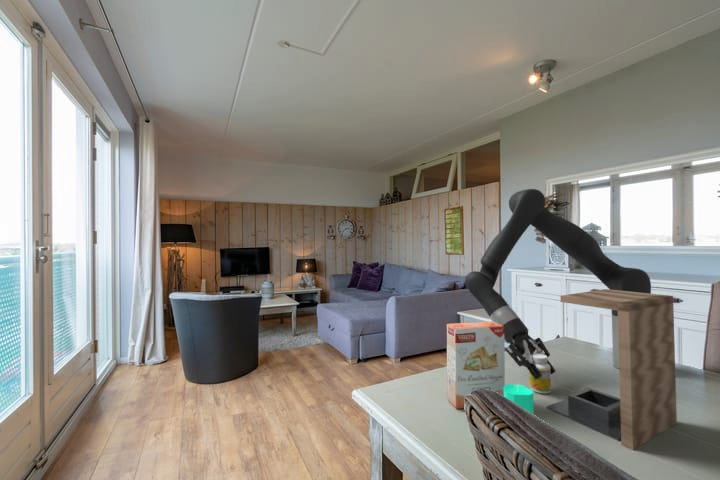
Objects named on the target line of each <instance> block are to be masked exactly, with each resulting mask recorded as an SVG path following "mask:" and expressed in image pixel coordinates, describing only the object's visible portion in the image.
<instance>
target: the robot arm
mask: <svg viewBox="0 0 720 480" xmlns="http://www.w3.org/2000/svg"><path fill="white" fill-rule="evenodd" d="M546 202H547V201H546V197H545V195H544V193H543V192H542V191H541V190H538V189H536V188H529V189H523V190H518V191H517V192H514V193H513V194H512V195H510V198H509V200H508V206H509V210H510V211H511V213H512V214H511V217H510V218H509V220H508V222H507V223H506V224H505V225H504V227H503V228H502V229H500V231H499V233H498V234H497V235H496V236H495V237H494V238H493V239H492V240H491V242H490V244H489V245H488V247H487V248H486V250H485V251H484V253H483V255H482V256H481V259H480V264H481V268H480V269H479V271H476V270H475V271H474V270H473V271H471V272H469V273H468V274H467V275H466V276H465V286H466V288H467V290H468V291H469V292H470V293H471V295H472V296H473V297H474V298H475V300H477V302H479V303H480V305H481V306H482V308H484V309H483V310H484V311H485V312H486V314H487V315H488V316H489V318H490V319H491V321H493V322H495V323H497V324H500V325H502V326H504V342H505V343H506V344H509V345H507V347H506V348H504V351H506V353H508V355H509V356H510V357H511V359H513V362H515V363H516V364H517V365H518V366H519V367H525V368H526V369H527V370H528V372H530V373H531V374H532V376H533V377H534V378H535V379H539V378H540V377H541V376H542V374H541V373H540V371H539V370H538V369H537V367H536V366H535V364H534V363H532V354H543V355H546V356H547V358H548V359H549V357H550V356H551V354H550V352H549V350H548V349H547V346H545V344H544V341H542V339H541V338H540V337H537V338H533V337H531V336H530V335H529V328H528V327H527V326H526V324H525V323H524V322H523V321H522V320H521V318H520V317H519V316H518V314H517V313H516V312H515V310H514V309H513V308H512V307H511V306H510V305H509V304H508V302H507V301H506V300H505V298H504V297H503V296H502V295H501V294H500V293H499V292H497V291H496V290H495V289H494V287H495V286H496V285H495V284H496V282H497V280H498V276H499V273H500V270H501V269H502V267H503V265H504V264H505V263H506V260H507V259H508V257H509V256H510V254H511V252H512V250H513V249H514V247H515V246H516V244H518V241H519V240H520V239H521V237H522V236H523V234H524V233H525V232H526V230H527V229H528V228H529V227H530V226H532V227H533V228H536V230H538V231H539V232H540V233H541V234H542V235H543V236H544V237H546V238H547V239H548V240H549V241H550V242H552V243H553V244H554V245H555V246H557V247H558V248H559V249H560V250H561V251H563V252H564V253H565V254H566V255H568V256H569V257H571V258H572V259H574V260H575V261H576V262H577V263H578V264H580V265H581V266H582V267H584V268H586V269H587V270H589V272H591V273H592V274H593V275H594V276H595V277H596V278H597V279H598V280H599V281H600V282H601V283H602V284H604V286H605V287H606V288H608V289H610V290H620V291H629V292H639V293H649V294H652V283H651V278H650V276H649V274H648V273H647V272H646V271H645V270H643V269H641V268H635V267H625V266H622V265H619V264H618V263H617V262H615V261H613V260H612V259H611V258H609V257H608V256H606V254H605V253H604V252H603V250H602V248H601V247H600V245H599V243H598V242H597V240H596V239H595V238H594V237H593V236H592V235H591V234H590V233H589V232H587V231H586V230H584V229H583V228H582V227H580V226H579V225H577V224H576V223H574V222H572V221H569V220H567V219H565V218H563V217H562V216H561V217H560V216H558V215H556V214H555V213H553V212H551V211H550V210H548V209H547V208H546V207H545V206H546ZM611 335H612V365H613V367H614V368H617V369H619V339H618V310H611ZM547 363H548V364H549V365H550V368H551V375H553V374H555V373H556V369H555V368H554V366H553V365H552V363H551V362H550V361H549V360H548V361H547ZM530 373H529V374H530Z"/></svg>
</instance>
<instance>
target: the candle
mask: <svg viewBox="0 0 720 480" xmlns="http://www.w3.org/2000/svg"><path fill="white" fill-rule="evenodd" d="M504 397H506V398H507V399H509V400H511V401H513V402H515V403H516V404H518V405H519V406H521V407H522V408H524V409H526V410H527V411H529V412H530V413H532V414H534V413H535V412H534V411H535V410H534V391H533V390H531V389H530V388H528V387H526V386H525V385H523V384H512V383H507V384H505V386H504ZM534 415H535V414H534Z"/></svg>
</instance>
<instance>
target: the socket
mask: <svg viewBox="0 0 720 480" xmlns="http://www.w3.org/2000/svg"><path fill="white" fill-rule="evenodd" d="M545 408H546V409H547V410H549V411H552V412H554V413H556V414H558V415H560V416H562V417H565V418H567V419H569V420H571V421H574V422H576V423H578V424H581V425H583V426H584V427H588V428H590V429H591V430H593V431H595V432H598V433H600V434H602V435H604V436H607V437H609V438H611V439H613V440H615V441H618V442H620V441H621V412H620V397H616V396H614V395H611V394H608V393H605V392H603V391H600V390H597V389H594V388H591V387H585V388H583V389H581V390H578V391H575V392H573V393H569V394H568V395H567V398H565V399H563V400H560V401H558V402H555V403H552V404H550V405H547V406H546V407H545Z"/></svg>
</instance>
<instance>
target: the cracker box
mask: <svg viewBox="0 0 720 480" xmlns="http://www.w3.org/2000/svg"><path fill="white" fill-rule="evenodd" d="M505 361H506V360H505V339H504V326H502V325H500V324H497V323H495V322H493V321H492V320H491V321H476V322H457V323H447V324H446V375H447V376H446V378H447V379H446V381H447V385H446V386H447V387H446V388H447V393H446V394H447V395H446V396H447V397H446V398H447V400H448V401H449V402H450V403H451V405H452V406H453V407H454V408H455V409H457V410H458V409H459V410H460V409H465V408H464V397H465V396H466V395H468V394H470V393H471V392H472V391H473V390H475V389H479V388H484V389H489V390H493V391H495V392H498V393H499V394H501V395H503V396H504V386H505V385H506V379H505V378H506V375H505V373H506V372H505V370H506V369H505Z"/></svg>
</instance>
